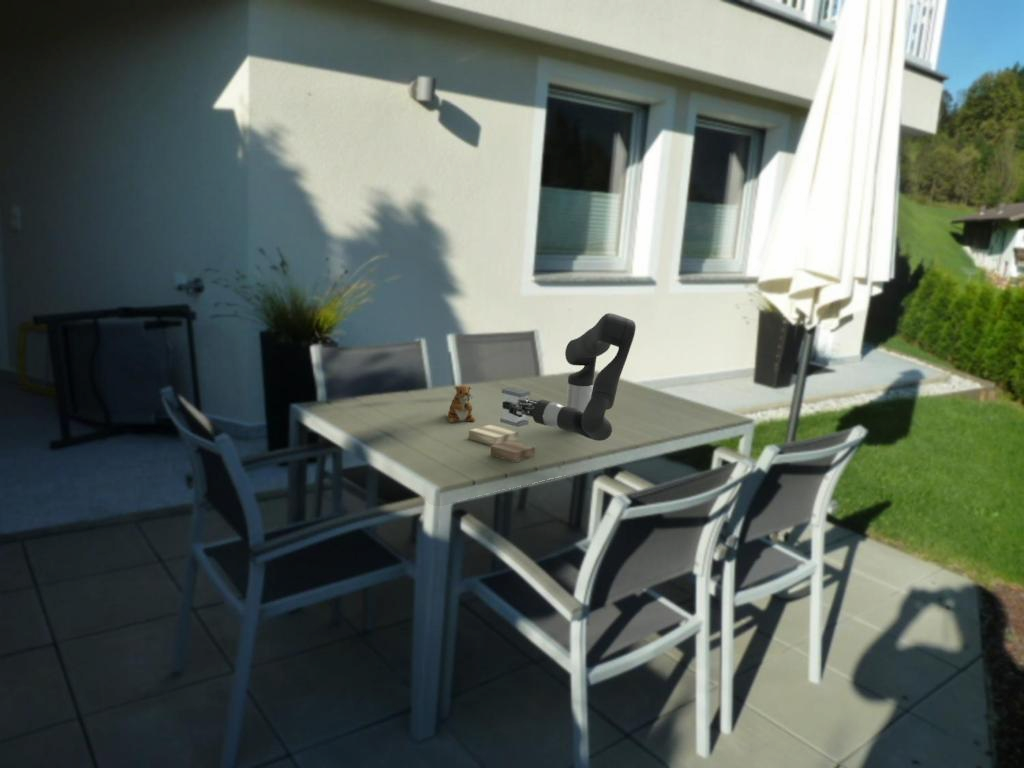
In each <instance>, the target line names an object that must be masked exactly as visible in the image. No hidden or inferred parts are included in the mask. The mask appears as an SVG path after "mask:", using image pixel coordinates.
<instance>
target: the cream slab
mask: <svg viewBox="0 0 1024 768" xmlns="http://www.w3.org/2000/svg"><path fill="white" fill-rule="evenodd" d="M518 439H519V431H518V430H514V429H510V428H506V427H505V426H504V427H503V426H499V425H496V424H492V423H491V424H488V425H487V424H486V425H483V426H480V427H475V428H473V429H469V430H468V440H472V441H475V442H478V443H483V444H485V445H488V444H489V446H493V445H496V444H499V443H503V442H506V441H510V440H512V441H515V442H517V441H518Z"/></svg>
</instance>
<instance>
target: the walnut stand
mask: <svg viewBox="0 0 1024 768" xmlns="http://www.w3.org/2000/svg"><path fill="white" fill-rule="evenodd" d="M535 448H536V447H535V446H532V445H529V444H525V443H521V442H518V441H512V440H510V441H506V442H503V443H499V444H496V445H493V446H492V445H490V456H492V455H493V457H496V458H499V459H502V458H503V459H502V460H505V459H506V461H508V460H510V461H509V462H512V461H513V462H512V463H517V462H521V461H523V460H526V459H529V458H533V457H534V456H535Z"/></svg>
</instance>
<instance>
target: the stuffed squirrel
mask: <svg viewBox="0 0 1024 768" xmlns="http://www.w3.org/2000/svg"><path fill="white" fill-rule="evenodd" d="M454 389H455V391H456V393H455V394H454V397H453V398H452V400H451V404H450V406H449V410H448V413H447V420H448V423H449V424H454V423H456V422H464V421H465V422H469V421H470V423H475V422H476V418H475V417H473V416H472V414H473V413H472V411H473V406H472V403H470V399H471V400H472V399H473V398H474V396H473V395H472V394H471V392H470V390H471V389H472V386H467V385H459V386H458V385H455V386H454ZM453 422H454V423H453Z"/></svg>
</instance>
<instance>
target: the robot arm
mask: <svg viewBox="0 0 1024 768" xmlns="http://www.w3.org/2000/svg"><path fill="white" fill-rule="evenodd" d="M635 334H636V322H635V321H634V320H633V319H630V318H627V317H624V316H621V315H620V314H619V315H618V314H615V313H613V312H612V313H610V312H608V313H605V314H604V315H602V317H600V318H599V320H598V321H597V323H596V324H595V325H594V326H592V327H591V328H590V329H588V330H586V331H585V332H584V333H583V334H582V335H580V336H579V337H577V338H574V339H571V340H570V341H569V342H568V343H567V345H566V347H565V351H564V355H565V360H566V362H567V363H568V364H569V365H571V366H582V369H580V370H579V371H576V372H572V373H570V374H569V375H568V379H567V387H566V388H567V389H566V390H567V391H566V403H565V405H564V404H562V403H559V402H558V403H557V402H554V401H551V400H550V401H549V400H546V399H539V400H534V399H528V401H527V404H524V403H519V404H514V403H509V402H505V401H504V402H503V401H502V409H503V408H504V409H507V410H509V413H510V414H513V415H515V416H518V417H522V415H526V416H527V418H528V417H530V418H531V417H532V419H533V421H534V423H537V424H539V425H543V426H547V427H550V428H554V429H561V430H565V431H568V432H573V433H577V434H579V435H580V436H583V437H584V438H588V439H590V440H593V441H597V442H598V441H599V442H600V441H601V442H602V441H605V440H607V439H609V438H610V437H611V435H612V432H613V426H612V424H611V422H610V421H609V420H608V418H607V417H605V415H606V411H608V410H610V409H612V408H613V406H614V403H615V400H616V399H615V398H616V394H617V390H618V385H619V381H620V378H621V374H622V373H623V370H624V366H625V364H626V361H627V359H628V356H629V352H630V350H631V347H632V344H633V341H634V337H635ZM611 346H614V347H617V348H618V350H617V352H616V354H615V357H614V358H613V359H612V360H611V361H609V363H608V364H606V365H605V367H603V368H602V369H601V370H600V371H599V372H598V374H597V375H596V377H595V373H596V372H595V371H596V363H597V357H600V356H602V355H603V354H605V353H606V352H608V350H609V349H610V347H611ZM594 378H595V380H594ZM516 406H517V407H516ZM521 406H523V407H522V409H521Z"/></svg>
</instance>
